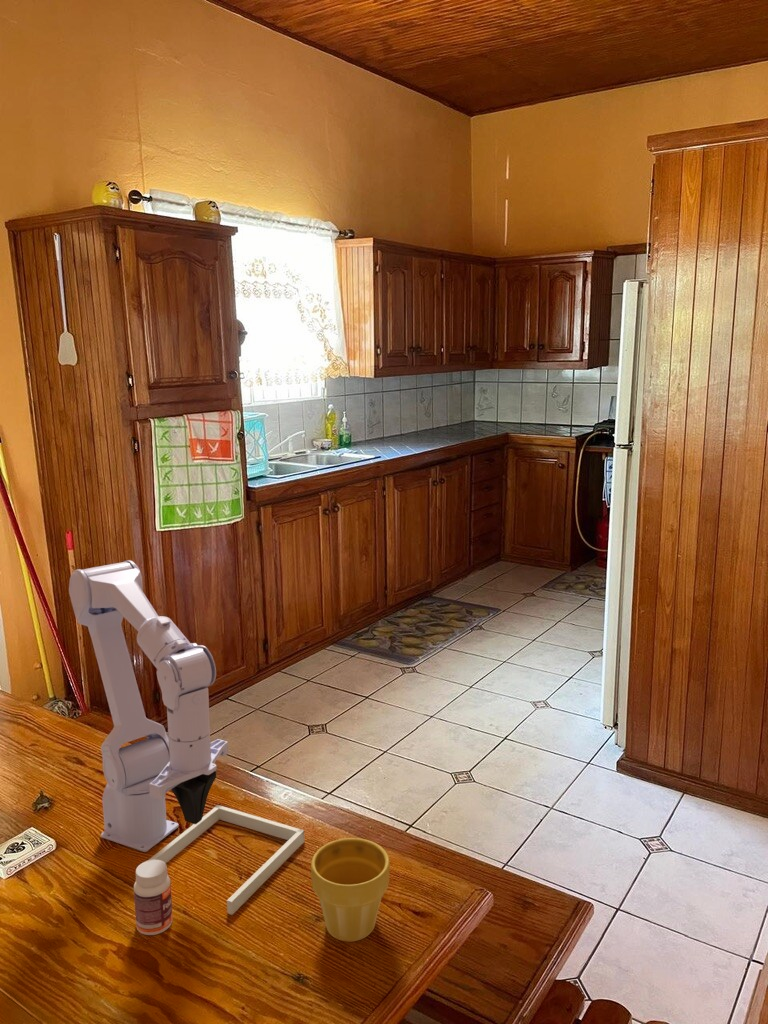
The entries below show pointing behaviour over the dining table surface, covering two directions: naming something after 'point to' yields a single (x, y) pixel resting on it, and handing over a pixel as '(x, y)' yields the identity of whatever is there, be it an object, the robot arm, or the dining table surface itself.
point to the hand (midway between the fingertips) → (193, 820)
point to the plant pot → (350, 885)
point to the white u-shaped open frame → (248, 821)
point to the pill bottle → (152, 898)
